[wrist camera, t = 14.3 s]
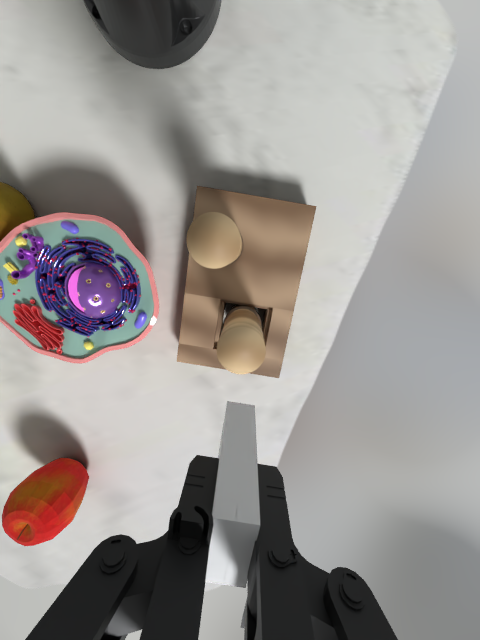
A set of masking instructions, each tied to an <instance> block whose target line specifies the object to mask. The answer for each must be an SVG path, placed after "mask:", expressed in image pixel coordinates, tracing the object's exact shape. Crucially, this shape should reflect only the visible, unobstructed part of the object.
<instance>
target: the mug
mask: <svg viewBox="0 0 480 640" xmlns="http://www.w3.org/2000/svg"><path fill="white" fill-rule="evenodd" d="M33 219H35V216H34V211H33V209H32V207H31V205H30V203H29V202H28V200H27V199H26V198H25V197H24V196H23V195H22V194H21V193H20V192H19V191H18V190H16V189H15V188H13V187H11V186H10V185H8V184H5V183H2V182H0V242H1V241H2V239H3V238H4V237H5V236H6V235H7V234H8V233H9V232H10V231H12V230H13V229H14V228H16V227H17V226H19V225H20V224H22V223H25V222H27V221H30V220H33Z"/></svg>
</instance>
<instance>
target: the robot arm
mask: <svg viewBox="0 0 480 640" xmlns="http://www.w3.org/2000/svg"><path fill="white" fill-rule="evenodd" d="M83 1H84V3H85V5H86V7H87V10H88V12H89V13H90V15H91V17H92V19H93V20H94V22H95V24H96V25H97V27H98V28H99V30H100V31H101V33H102V34H103V36H104V37H105V39H106V40H107V41H108V43H109V44H110V45H111V46H112V47H113V48H114V49H115V50H116V51H117V52H118V53H119V54H120V55H122V56H123V57H124V58H126V59H127V60H129V61H131V62H133V63H135V64H137V65H140V66H143V67H147V68H154V69H162V68H169V67H173V66H176V65H179V64H181V63H183V62H185V61H186V60H188V59H190V58H191V57H192V56H193V55H195V54H196V53H197V52H198V51H199V50H200V49H201V48H202V46H203V45H204V44H205V42H206V41H207V40H208V38H209V36H210V35H211V33H212V31H213V29H214V26H215V24H216V21H217V18H218V15H219V11H220V6H221V0H83ZM247 579H248V597H247V601H246V606H245V609H244V613H243V618H242V623H241V628H244V627H245V640H398V639H397V637H396V636H395V634H394V632H393V630H392V628H391V626H390V624H389V623H388V621H387V619H386V617H385V615H384V613H383V611H382V610H381V608H380V606H379V604H378V602H377V600H376V599H375V597H374V595H373V593H372V591H371V590H370V588H369V587H368V585H367V584H366V582H365V581H364V580H363V579H362V578H361V577H360V576H359V575H358V574H357V573H356V572H354V571H352V570H350V569H348V568H343V567H337V568H335V569H333V570H332V571H331V573H330V574H329V573H327V572H326V571H324V570H322V569H320V568H318V567H316V566H314V565H312V564H311V563H309V562H308V561H306V559H305V558H304V557H302V556H301V554H300V553H299V552H298V549H297V548H296V547H295V545H294V542H293V539H292V534H291V528H290V521H289V515H288V509H287V502H286V496H285V491H284V483H283V477H282V475H281V474H280V472H279V470H278V469H277V467H275V466H268V465H262V464H257V445H256V424H255V406H254V405H247V404H241V403H235V402H229V401H227V407H226V413H225V419H224V424H223V430H222V436H221V442H220V449H219V456H218V458H212V457H206V456H200V455H197V456H196V457H195V458H194V459H193V460H192V461H191V463H190V464H189V468H188V472H187V476H186V479H185V483H184V487H183V490H182V494H181V498H180V501H179V505H178V507H177V508H176V509H175V510H174V511H173V513H172V515H171V517H170V522H169V530H168V531H167V532H166V533H165V534H164V535H163V536H161V537H160V538H158V539H156V540H152V541H149V542H144V543H139V544H136V542H135V541H134V540H133V539H132V538H131V537H129V536H126V535H116V536H111V537H109V538H107V539H106V540H104V541H102V542H101V543H100V544H99V545H98V546H97V547H96V548H95V549H94V550H93V551H92V553H91V554H90V555H89V557H88V558H87V559H86V561H85V562H84V563H83V565H82V566H81V567H80V569H79V570H78V571H77V572H76V574H75V575H74V576H73V578H72V579H71V580H70V582H69V583H68V584H67V586H66V587H65V588H64V590H63V591H62V592H61V593H60V595H59V596H58V597H57V599H56V600H55V601H54V603H53V604H52V605H51V607H50V608H49V609H48V610H47V612H46V613H45V614H44V616H43V617H42V618H41V620H40V621H39V622H38V624H37V625H36V626H35V628H34V629H33V630H32V632H31V633H30V634H29V635H28V637H27V638H26V639H25V640H125V638H126V636H127V634H128V633H131V632H135V631H138V630H141V629H142V633H141V637H140V640H198V635H199V627H200V620H201V612H202V604H203V595H204V588H205V582H210V583H217V584H223V585H230V586H237V587H243V588H245V587H246V583H247Z"/></svg>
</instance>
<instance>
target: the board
mask: <svg viewBox="0 0 480 640" xmlns="http://www.w3.org/2000/svg"><path fill="white" fill-rule="evenodd" d="M315 210H316V206H311V205H306V204H300V203H294V202H288V201H282V200H277V199H271V198H265V197H259V196H254V195H248V194H242V193H236V192H230V191H225V190H219V189H213V188H207V187H201V186H197V190H196V199H195V207H194V216H193V222H192V223H191V225H190V227H189V229H188V232H187V239H186V241H187V248H188V251H189V259H188V268H187V277H186V285H185V294H184V303H183V312H182V320H181V329H180V338H179V346H178V355H177V362H183V363H190V364H196V365H202V366H208V367H214V368H220V369H225V368H224V367H223V366H222V365H221V363H220V362H219V360H218V357H217V344H218V341H219V338H220V335H221V329H222V323H223V316H224V310H225V303H226V302H227V303H233V304H239V305H245V306H251V307H257V308H263V309H266V311H265V316H264V321H263V326H262V332H263V337H264V342H265V347H266V355H265V359H264V361H263V363H262V364H261V366H260V367H259V368H258V369H256V370H255V371H253V372H251V374H257V375H263V376H269V377H275V378H279V375H280V371H281V366H282V362H283V357H284V352H285V348H286V343H287V339H288V334H289V330H290V325H291V320H292V316H293V311H294V307H295V302H296V297H297V293H298V288H299V284H300V279H301V274H302V270H303V265H304V261H305V256H306V252H307V247H308V242H309V238H310V233H311V229H312V224H313V219H314V215H315ZM226 370H227V369H226Z"/></svg>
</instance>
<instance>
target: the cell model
mask: <svg viewBox="0 0 480 640" xmlns="http://www.w3.org/2000/svg"><path fill="white" fill-rule="evenodd" d="M158 313H159V300H158V294H157V289H156V283H155V278H154V275H153V272H152V270H151V267H150V265H149V263H148V261H147V260H146V259H145V257H144V256H143V255H142V254H141V253H140V252H139V251H138V250H137V248H136V247H135V246H134V245H133V244H132V242H131V241H130V240H129V238H128V237H127V235H126V234H125V233H124V232H123V231H122V230H121V229H120V228H119V227H118V226H117V225H115V224H114V223H112V222H111V221H109V220H107V219H105V218H103V217H99V216H96V215H87V214H76V213H67V212H62V213H54V214H50V215H47V216H43V217H39V218H36V219H33V220H30V221H27V222H25V223H22V224H20V225H19V226H17V227H16V228H14V229H13V230H12V231H10V232H9V233H8V234H7V235H6V236H5V237H4V238H3V239H2V241H1V242H0V322H2V323H3V324H4V325H5V326H6V327H7V328H8V329H9V330H10V331H12V332H13V333H14V334H15V335H16V336H17V337H18V338H19V339H21V340H22V341H23V342H24V343H25V344H26V345H27V346H28V347H30V348H31V349H33V350H34V351H36V352H38V353H41V354H44V355H48V356H51V357H54V358H57V359H60V360H63V361H67V362H71V363H86V362H88V361H91V360H93V359H94V358H96V357H98V356H100V355H102V354H103V353H105V352H108V351H112V350H117V349H123V348H127V347H130V346H132V345H134V344H136V343H137V342H139V341H141V340H142V339H143V338H144V337H145V336H146V335H147V334H148V333H149V332H150V330H151V329H152V327H153V325H154V324H155V322H156V319H157V316H158Z"/></svg>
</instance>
